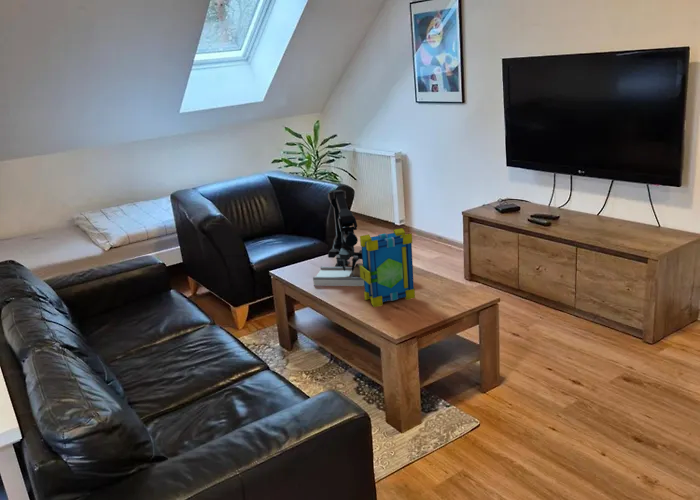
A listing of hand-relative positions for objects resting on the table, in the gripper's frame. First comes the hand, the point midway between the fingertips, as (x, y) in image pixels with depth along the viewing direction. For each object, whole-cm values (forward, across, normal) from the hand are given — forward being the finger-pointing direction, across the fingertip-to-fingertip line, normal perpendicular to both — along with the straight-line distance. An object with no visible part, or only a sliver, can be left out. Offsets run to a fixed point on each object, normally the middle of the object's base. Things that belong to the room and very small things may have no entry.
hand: (348, 270), depth 307 cm
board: (+5, 0, 0) cm, 5 cm away
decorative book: (+4, +25, -22) cm, 33 cm away
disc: (+2, +7, 0) cm, 7 cm away
